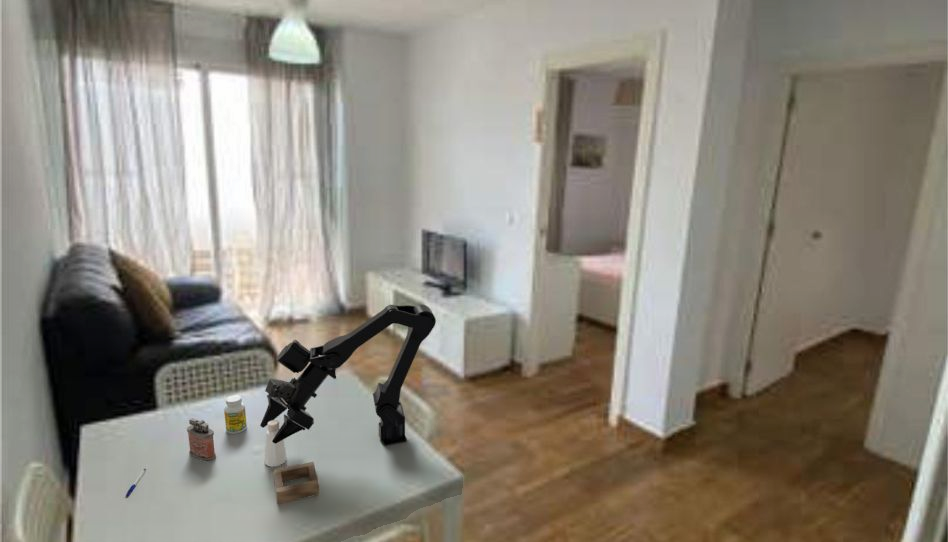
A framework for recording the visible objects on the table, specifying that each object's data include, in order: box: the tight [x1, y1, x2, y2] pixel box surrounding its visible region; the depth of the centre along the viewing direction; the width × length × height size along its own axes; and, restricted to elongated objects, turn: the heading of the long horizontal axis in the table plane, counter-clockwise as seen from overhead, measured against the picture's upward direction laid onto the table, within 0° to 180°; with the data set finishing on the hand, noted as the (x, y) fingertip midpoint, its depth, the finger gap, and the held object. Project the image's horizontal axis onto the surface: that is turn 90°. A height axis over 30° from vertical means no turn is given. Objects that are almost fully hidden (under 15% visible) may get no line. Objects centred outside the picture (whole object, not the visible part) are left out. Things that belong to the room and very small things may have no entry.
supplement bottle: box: [223, 394, 248, 435], centre depth 148 cm, size 5×5×10 cm
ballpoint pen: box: [125, 468, 147, 498], centre depth 125 cm, size 10×1×1 cm, turn 13°
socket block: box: [273, 461, 320, 505], centre depth 125 cm, size 9×9×3 cm
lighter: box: [186, 417, 217, 463], centre depth 135 cm, size 8×3×10 cm, turn 65°
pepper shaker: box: [263, 419, 288, 467], centre depth 134 cm, size 5×5×11 cm
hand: (267, 434), depth 133 cm, fingers open, 9 cm apart
